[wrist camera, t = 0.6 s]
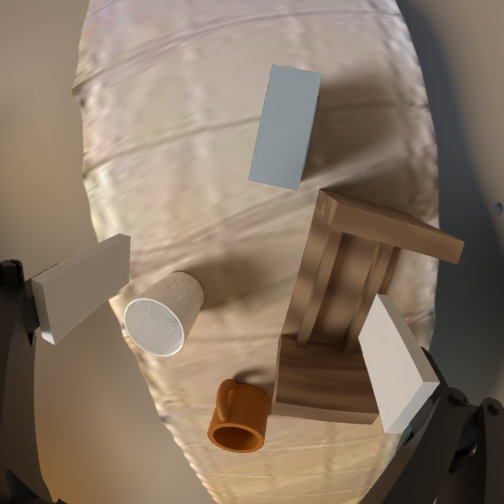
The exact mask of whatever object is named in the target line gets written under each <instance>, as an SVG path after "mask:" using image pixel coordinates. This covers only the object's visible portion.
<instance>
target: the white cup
mask: <svg viewBox="0 0 504 504" xmlns="http://www.w3.org/2000/svg"><path fill="white" fill-rule="evenodd" d="M203 302H204V292H203V289H202V287H201V285H200V284H199V282H198V281H197V280H196V279H195V278H194V277H192V276H191V275H190V274H186V273H183V272H174V273H170V274H169V275H167V276H166V277H165V278H163V279H162V280H159V281H158V282H156V283H155V284H153V285H152V286H151V287H149V288H148V289H147V290H146V291H144V292H143V293H142V294H140V295H139V296H138V297H137V298H135V299H134V300H133V301H131V302H130V303H129V304H128V305H127V307H126V309H125V312H124V324H125V328H126V330H127V332H128V334H129V336H130V337H131V339H132V340H133V341H134V342H135V343H136V344H137V345H138V346H139V347H140V348H141V349H143V350H144V351H146V352H148V353H150V354H153V355H156V356H171V355H174V354H176V353H177V352H179V351H180V350H181V348H182V347H183V345H184V343H185V341H186V339H187V337H188V335H189V333H190V331H191V329H192V327H193V325H194V323H195V321H196V318H197V316H198V314H199V310H200V308H201V306H202V304H203Z"/></svg>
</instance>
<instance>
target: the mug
mask: <svg viewBox="0 0 504 504" xmlns="http://www.w3.org/2000/svg"><path fill="white" fill-rule="evenodd" d="M268 409H269V399H268V396H267V395H266V394H265V393H264V392H263V391H262V390H260V389H258V388H257V387H254V386H251V385H247V384H237V383H236V382H235V381H234V380H232V379H227V380H224V381H223V382H222V383H221V385H220V387H219V389H218V393H217V399H216V408H215V411H214V414H213V417H212V420H211V423H210V426H209V429H208V432H207V433H208V438H209V439H210V440H211V442H212V443H214V444H215V445H216V446H218V447H220V448H222V449H224V450H227V451H231V452H237V453H249V452H254V451H257V450H259V449H260V448H261V447H262V446H263V445H264V440H265V432H266V424H267V417H268Z"/></svg>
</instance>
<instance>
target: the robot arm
mask: <svg viewBox="0 0 504 504" xmlns="http://www.w3.org/2000/svg"><path fill="white" fill-rule="evenodd" d="M130 237H131V236H127V235H123V234H117V235H115V236H113V237H111V238H109V239H106V240H104V241H102V242H100V243H98V244H96V245H94V246H92V247H90V248H88V249H86V250H84V251H82V252H80V253H78V254H76V255H74V256H72V257H70V258H69V259H66V260H65V261H63V262H61V263H58V264H56V265H54V266H52V267H50V268H49V269H46V270H45V271H43V272H41V273H39V274H37V275H36V276H34V277H32V278H30V279H29V280H27V281H24V274H23V267H22V263H21V261H19V260H13V259H10V260H5V261H2V262H0V504H67V503H65V502H64V501H62V500H60V499H58V501H57V503H55V502H52V499H51V496H50V493H49V490H48V488H47V486H46V484H45V482H44V480H43V478H42V475H41V471H40V466H39V458H38V451H37V443H36V433H35V419H34V361H35V347H36V333H35V330H36V329H37V328H38V327H39V326H40V329H41V333H42V337H43V338H44V339H46V340H47V341H49V342H51V343H52V344H54V345H55V344H56V343H57V342H58V341H60V340H61V339H62V338H63V337H64V336H65V335H66V334H67V333H69V332H70V331H71V330H72V329H73V328H74V327H76V326H77V325H78V324H79V323H80V322H81V321H83V320H84V319H85V318H86V317H87V316H89V315H90V314H91V313H92V312H93V311H94V310H96V309H97V308H98V307H99V306H100V305H102V304H103V303H104V302H105V301H106V300H108V299H109V298H110V297H111V296H113V295H114V294H115V293H116V292H118V291H119V290H120V289H121V288H123V287H124V286H125V285H126V284H128V283H129V260H130ZM358 339H359V342H360V345H361V348H362V351H363V355H364V358H365V361H366V365H367V368H368V371H369V375H370V378H371V382H372V385H373V389H374V393H375V396H376V400H377V404H378V408H379V411H380V415H381V419H382V424H383V428H384V432H385V433H402V432H403V430H404V429H405V428H406V427H407V426H408V424H409V423H410V426H411V429H412V431H411V432H410V433H409V434H408V435H407V437H406V438H405V439H404V440H403V441H402V442H401V443H400V444H399V445H398V446H397V448H399V450H398V451H397V453H396V454H395V456H394V457H393V459H392V460H391V462H390V463H389V465H388V466H387V468H386V469H385V470H384V472H383V473H382V475H381V476H380V477H379V479H378V480H377V481H376V483H375V484H374V485H373V487H372V488H371V489H370V490H369V492H368V493H367V494H366V495H365V497H364V498H363V499H362V500H361V501H360V503H359V504H433V503H434V501H435V499H436V497H437V499H436V503H435V504H504V408H503V406H502V405H501V403H500V402H498V400H496V399H494V398H490V397H488V398H485V399H484V401H483V402H482V403H481V404H480V406H475V405H471V404H469V401H468V399H467V397H466V396H465V394H464V393H462V392H461V391H460V390H458V389H456V388H451V387H448V385H447V383H446V381H445V380H444V378H443V376H442V374H441V372H440V370H439V369H438V367H437V365H436V363H434V360H433V358H432V356H431V355H430V353H428V352H427V351H426V350H425V349H424V348H423V347H420V345H419V344H418V342H417V340H416V338H415V337H414V335H413V333H412V332H411V330H410V328H409V327H408V325H407V323H406V322H405V320H404V319H403V317H402V315H401V314H400V312H399V311H398V309H397V307H396V306H395V304H394V303H393V301H392V300H391V298H390V297H389V296H386V295H381V294H376V296H375V299H374V301H373V304H372V306H371V309H370V311H369V314H368V316H367V319H366V321H365V323H364V326H363V328H362V330H361V332H360V335H359V337H358ZM474 449H476V451H475V453H474V454H473V450H474Z"/></svg>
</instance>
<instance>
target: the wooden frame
mask: <svg viewBox="0 0 504 504" xmlns="http://www.w3.org/2000/svg"><path fill="white" fill-rule="evenodd" d="M463 246H464V242H463V241H461V240H459V239H457V238H455V237H453V236H451V235H449V234H447V233H445V232H443V231H441V230H439V229H437V228H435V227H433V226H431V225H429V224H427V223H425V222H423V221H421V220H418V219H416V218H414V217H412V216H410V215H407V214H405V213H401V212H398V211H395V210H392V209H389V208H385V207H382V206H379V205H375V204H372V203H369V202H365V201H362V200H358V199H355V198H351V197H347V196H344V195H340V194H336V193H332V192H328V191H324V190H320V189H319V194H318V198H317V202H316V207H315V211H314V215H313V219H312V223H311V227H310V231H309V235H308V239H307V243H306V247H305V251H304V254H303V258H302V262H301V266H300V269H299V273H298V277H297V280H296V284H295V288H294V291H293V295H292V298H291V302H290V305H289V309H288V312H287V315H286V319H285V322H284V325H283V329H282V332H281V335H280V339H279V342H278V353H277V363H276V372H275V382H274V391H273V400H272V408H271V413H273V414H279V415H285V416H291V417H297V418H304V419H312V420H320V421H329V422H340V423H353V424H372V423H373V422H374V421H375V419H376V418H377V417H378V415H379V410H378V406H377V402H376V399H375V395H374V392H373V388H372V385H371V381H370V378H369V375H368V371H367V368H366V365H365V361H364V358H363V355H362V352H361V345H360V342H359V339H358V337H359V335H360V332H361V330H362V328H363V326H364V323H365V321H366V319H367V316H368V314H369V311H370V309H371V306H372V304H373V301H374V299H375V296H376V294H381V295H384V293H385V290H386V288H387V285H388V282H389V279H390V277H391V274H392V271H393V268H394V265H395V262H396V259H397V256H398V253H399V250H400V248H404V249H407V250H411V251H414V252H418V253H421V254H425V255H428V256H431V257H435V258H438V259H441V260H445V261H448V262H451V263H455V264H458V261H459V258H460V255H461V252H462V249H463Z"/></svg>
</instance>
